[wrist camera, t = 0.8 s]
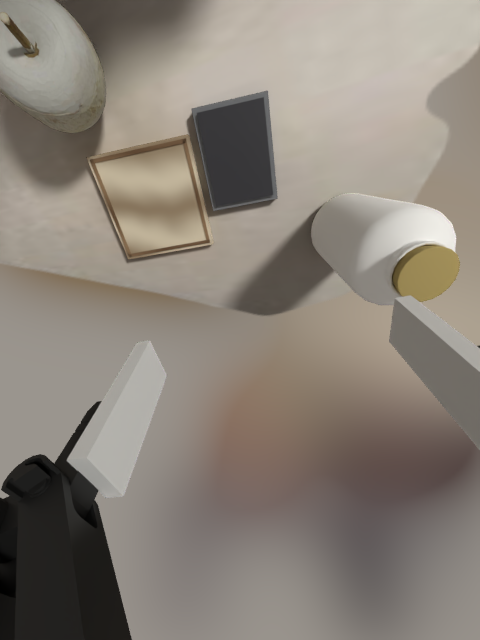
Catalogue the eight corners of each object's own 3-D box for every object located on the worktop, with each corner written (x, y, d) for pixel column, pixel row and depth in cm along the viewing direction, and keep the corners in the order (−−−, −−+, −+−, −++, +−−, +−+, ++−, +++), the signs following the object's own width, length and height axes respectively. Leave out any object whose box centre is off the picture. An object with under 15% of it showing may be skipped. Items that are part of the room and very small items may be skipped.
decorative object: (56, 139, 28) (-25, 124, 20) (20, 27, 24) (-106, -55, 15) (133, 136, 28) (85, 121, 20) (111, 23, 24) (35, -63, 15)
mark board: (90, 157, 29) (85, 157, 28) (189, 135, 28) (187, 134, 27) (131, 257, 35) (128, 259, 34) (213, 242, 34) (212, 244, 33)
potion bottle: (310, 263, 35) (362, 333, 20) (307, 199, 31) (371, 225, 16) (370, 253, 34) (474, 318, 19) (376, 186, 30) (515, 199, 15)
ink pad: (193, 111, 27) (190, 107, 26) (266, 93, 26) (268, 89, 25) (214, 209, 32) (213, 211, 31) (276, 197, 31) (278, 198, 30)
